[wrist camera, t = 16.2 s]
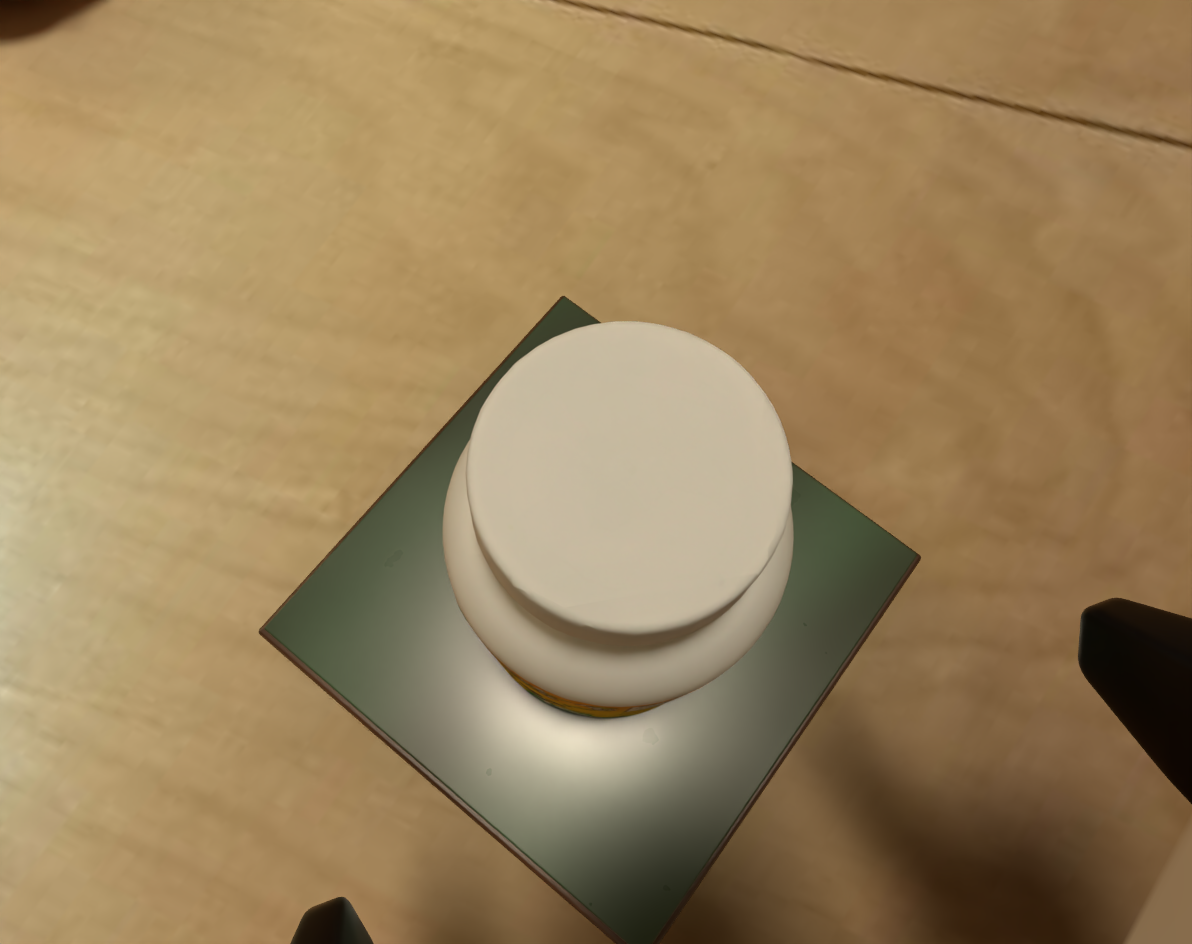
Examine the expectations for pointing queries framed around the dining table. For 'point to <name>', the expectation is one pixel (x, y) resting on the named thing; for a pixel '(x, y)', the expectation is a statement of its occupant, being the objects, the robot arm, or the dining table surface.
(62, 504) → the dining table surface
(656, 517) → the supplement bottle
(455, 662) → the stand
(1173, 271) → the dining table surface
